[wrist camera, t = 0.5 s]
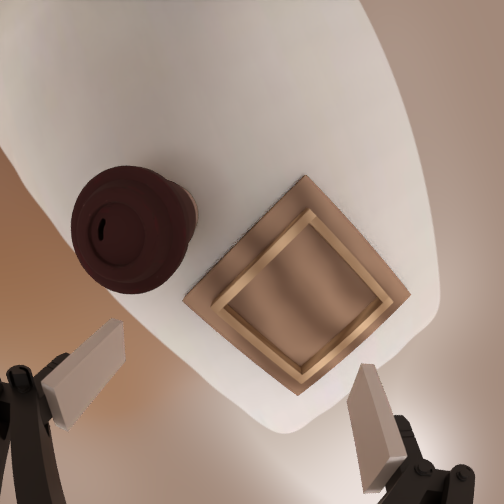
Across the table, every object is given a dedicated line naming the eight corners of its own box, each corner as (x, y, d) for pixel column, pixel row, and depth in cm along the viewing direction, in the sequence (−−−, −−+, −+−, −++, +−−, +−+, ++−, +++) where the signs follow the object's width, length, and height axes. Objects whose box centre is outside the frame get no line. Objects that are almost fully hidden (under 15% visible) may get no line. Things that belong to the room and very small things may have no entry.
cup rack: (304, 175, 34) (309, 174, 31) (406, 290, 37) (418, 300, 34) (184, 296, 37) (178, 307, 34) (296, 389, 40) (299, 405, 37)
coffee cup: (228, 217, 35) (211, 239, 20) (168, 273, 36) (120, 326, 22) (170, 154, 34) (117, 135, 19) (114, 213, 35) (40, 232, 20)
